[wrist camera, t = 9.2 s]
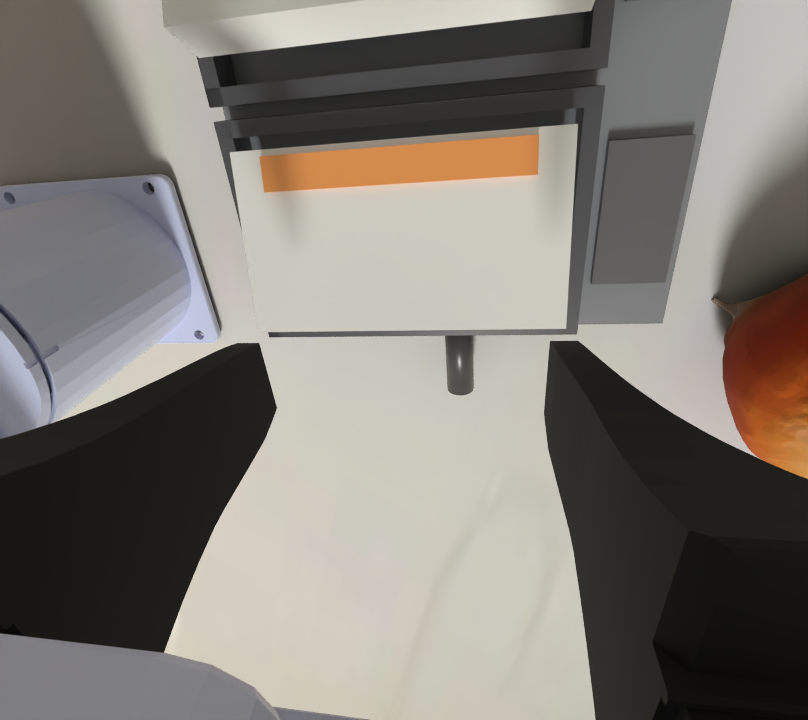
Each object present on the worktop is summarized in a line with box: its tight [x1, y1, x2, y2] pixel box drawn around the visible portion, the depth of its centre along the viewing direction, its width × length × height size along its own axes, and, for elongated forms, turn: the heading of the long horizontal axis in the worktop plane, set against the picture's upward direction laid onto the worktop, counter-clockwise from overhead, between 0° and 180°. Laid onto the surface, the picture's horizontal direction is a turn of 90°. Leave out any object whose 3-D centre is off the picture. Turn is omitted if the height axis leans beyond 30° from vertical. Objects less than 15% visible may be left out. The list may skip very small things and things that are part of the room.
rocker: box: [230, 124, 578, 332], centre depth 15 cm, size 10×6×2 cm, turn 95°
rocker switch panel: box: [197, 0, 732, 395], centre depth 14 cm, size 15×28×4 cm, turn 5°
